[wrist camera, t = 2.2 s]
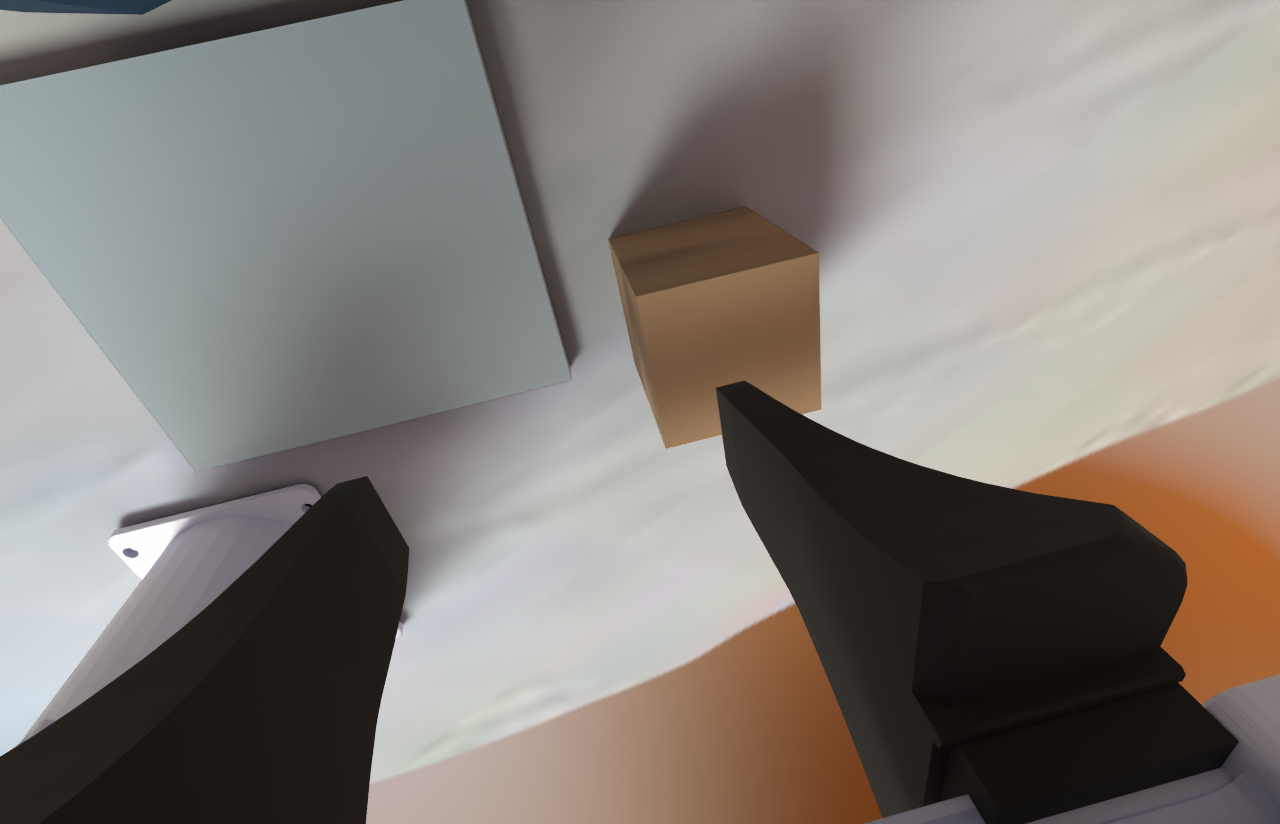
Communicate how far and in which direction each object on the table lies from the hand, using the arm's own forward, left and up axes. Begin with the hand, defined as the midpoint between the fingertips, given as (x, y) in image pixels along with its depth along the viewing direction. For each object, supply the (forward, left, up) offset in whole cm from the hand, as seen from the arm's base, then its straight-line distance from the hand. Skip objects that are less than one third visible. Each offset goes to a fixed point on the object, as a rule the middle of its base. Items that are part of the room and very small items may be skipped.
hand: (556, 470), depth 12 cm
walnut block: (-1, -5, -11) cm, 12 cm away
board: (+3, +7, -11) cm, 13 cm away
